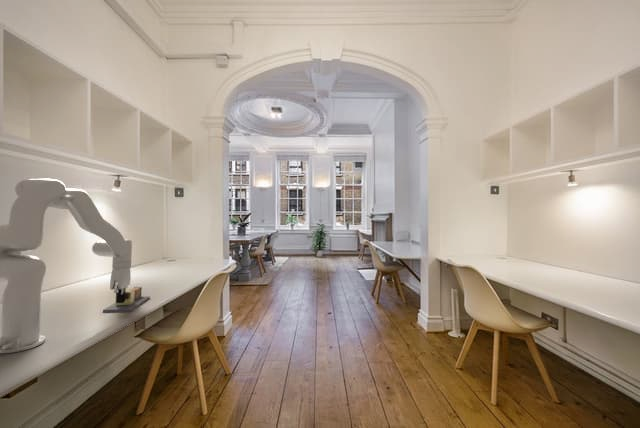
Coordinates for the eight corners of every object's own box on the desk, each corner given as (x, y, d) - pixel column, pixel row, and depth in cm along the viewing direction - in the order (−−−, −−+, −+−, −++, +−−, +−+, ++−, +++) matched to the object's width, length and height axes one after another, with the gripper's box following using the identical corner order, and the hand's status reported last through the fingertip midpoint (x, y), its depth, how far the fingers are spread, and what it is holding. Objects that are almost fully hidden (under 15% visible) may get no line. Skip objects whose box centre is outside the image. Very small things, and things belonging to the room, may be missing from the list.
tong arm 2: (128, 304, 142) (128, 294, 143) (124, 304, 142) (125, 294, 142) (141, 296, 157) (141, 286, 157) (138, 296, 157) (138, 286, 157)
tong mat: (130, 311, 136) (130, 309, 136) (102, 312, 134) (102, 310, 134) (149, 298, 158) (149, 296, 158) (125, 299, 156) (125, 296, 156)
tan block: (130, 305, 141) (130, 292, 141) (115, 305, 140) (115, 292, 140) (134, 302, 145) (134, 290, 145) (119, 303, 144) (119, 290, 144)
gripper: (121, 262, 145) (119, 298, 145) (104, 267, 130) (103, 307, 130) (137, 262, 146) (136, 297, 146) (122, 267, 132) (121, 307, 132)
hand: (120, 302), depth 138 cm, fingers closed
